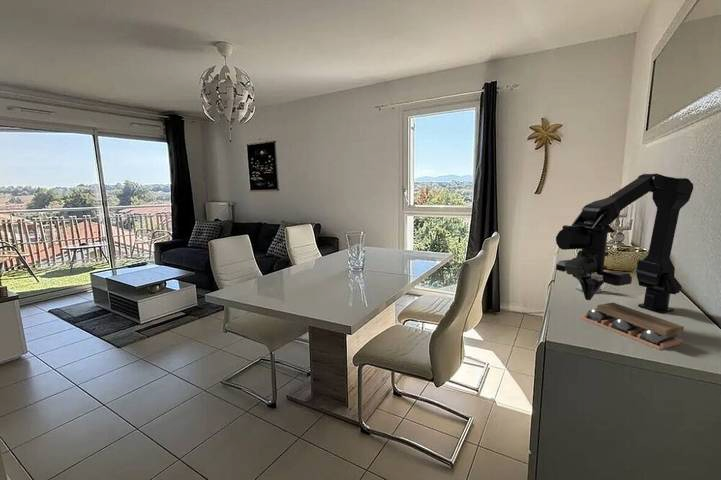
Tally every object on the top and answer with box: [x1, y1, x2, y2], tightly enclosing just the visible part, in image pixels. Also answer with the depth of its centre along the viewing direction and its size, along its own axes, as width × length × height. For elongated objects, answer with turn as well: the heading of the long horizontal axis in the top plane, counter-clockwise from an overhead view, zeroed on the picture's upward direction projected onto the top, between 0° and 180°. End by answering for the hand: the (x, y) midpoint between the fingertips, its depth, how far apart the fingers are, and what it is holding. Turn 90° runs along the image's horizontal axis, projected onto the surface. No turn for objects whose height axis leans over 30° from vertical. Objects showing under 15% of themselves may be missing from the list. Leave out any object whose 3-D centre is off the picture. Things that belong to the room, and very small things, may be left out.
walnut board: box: [596, 302, 685, 336], centre depth 88 cm, size 6×17×2 cm, turn 17°
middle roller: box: [612, 319, 642, 333], centre depth 90 cm, size 7×4×4 cm, turn 110°
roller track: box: [580, 313, 685, 351], centre depth 90 cm, size 9×20×1 cm, turn 20°
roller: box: [641, 330, 677, 345], centre depth 83 cm, size 4×7×4 cm
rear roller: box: [586, 308, 615, 323], centre depth 97 cm, size 7×4×4 cm, turn 110°
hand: (587, 299), depth 100 cm, fingers closed
